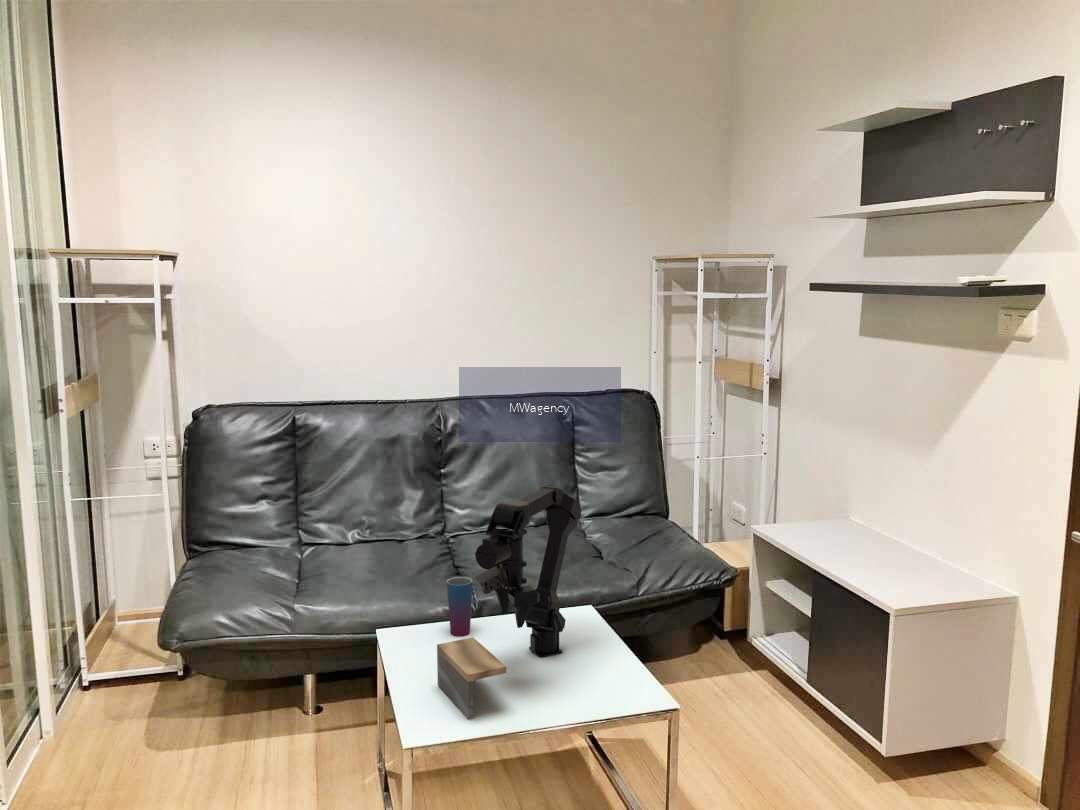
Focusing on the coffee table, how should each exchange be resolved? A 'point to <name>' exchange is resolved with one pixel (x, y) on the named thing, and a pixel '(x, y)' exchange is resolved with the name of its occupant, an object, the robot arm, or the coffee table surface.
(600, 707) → the coffee table surface
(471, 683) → the block
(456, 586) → the cup
